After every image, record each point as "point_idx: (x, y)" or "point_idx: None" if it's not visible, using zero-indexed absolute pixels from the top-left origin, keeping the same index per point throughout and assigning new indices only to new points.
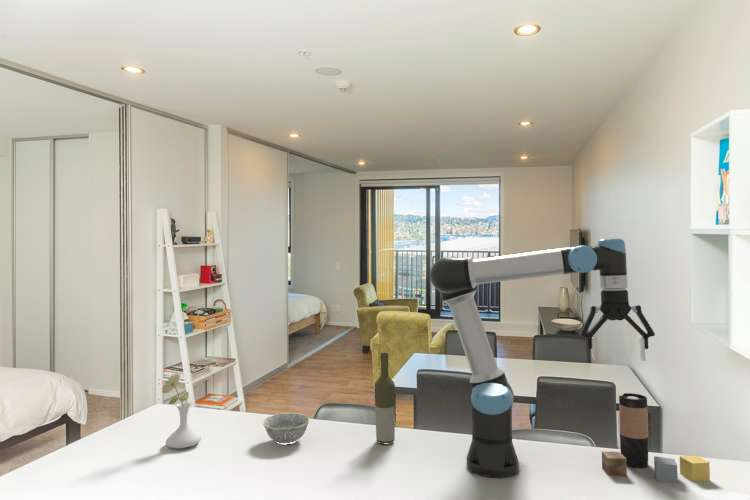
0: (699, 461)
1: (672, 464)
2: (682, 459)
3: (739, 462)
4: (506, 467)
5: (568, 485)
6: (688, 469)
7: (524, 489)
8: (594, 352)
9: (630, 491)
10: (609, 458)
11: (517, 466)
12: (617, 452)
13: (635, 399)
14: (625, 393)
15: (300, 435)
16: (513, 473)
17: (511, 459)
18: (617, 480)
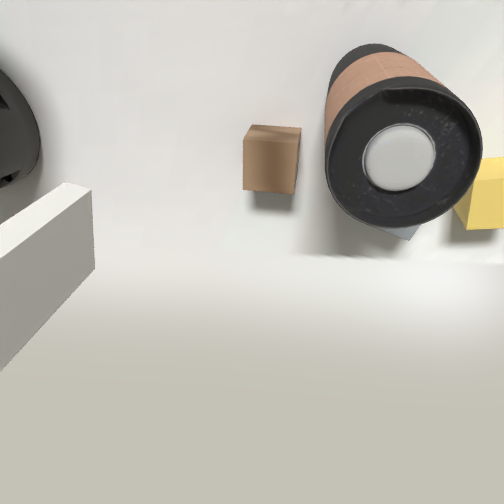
0: (502, 219)
1: (401, 233)
2: (470, 190)
3: None
4: (4, 185)
5: (146, 216)
6: (461, 204)
7: None
8: (38, 319)
9: (267, 245)
10: (246, 189)
11: (29, 159)
12: (289, 148)
13: (394, 189)
14: (401, 89)
15: None
16: (29, 170)
17: (3, 176)
18: (262, 196)
